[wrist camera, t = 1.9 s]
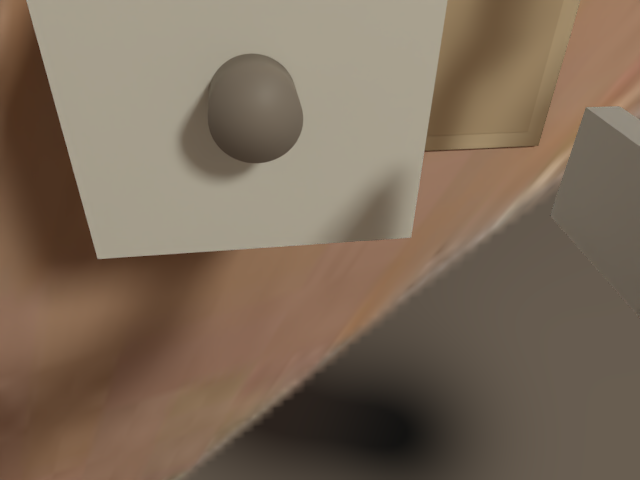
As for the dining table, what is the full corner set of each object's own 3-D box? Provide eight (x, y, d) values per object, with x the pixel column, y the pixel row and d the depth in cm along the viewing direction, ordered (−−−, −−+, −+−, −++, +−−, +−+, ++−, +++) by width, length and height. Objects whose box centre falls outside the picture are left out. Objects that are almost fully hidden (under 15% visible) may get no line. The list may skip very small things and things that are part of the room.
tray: (365, 151, 32) (366, 153, 32) (383, -56, 26) (384, -55, 26) (536, 144, 34) (538, 145, 34) (593, -54, 27) (596, -53, 27)
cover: (145, 97, 28) (88, 291, 16) (104, -145, 22) (-42, -136, 10) (339, 91, 30) (425, 266, 17) (350, -138, 24) (494, -122, 11)
